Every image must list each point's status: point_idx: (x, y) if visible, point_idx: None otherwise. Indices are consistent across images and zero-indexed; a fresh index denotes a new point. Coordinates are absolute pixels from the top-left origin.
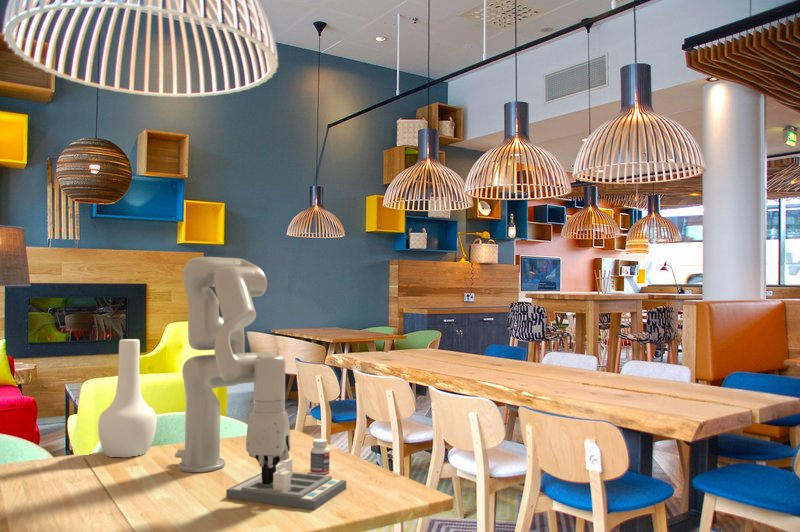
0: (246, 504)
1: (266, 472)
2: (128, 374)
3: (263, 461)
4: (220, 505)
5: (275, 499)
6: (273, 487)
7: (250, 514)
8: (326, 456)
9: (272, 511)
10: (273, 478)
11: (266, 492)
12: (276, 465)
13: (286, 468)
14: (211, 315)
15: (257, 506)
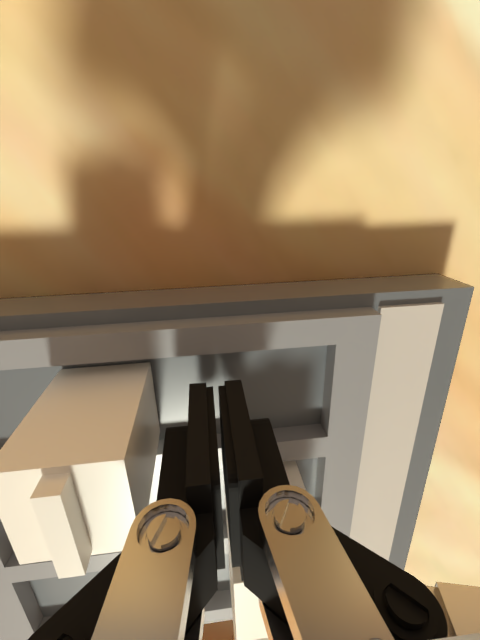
0: (270, 228)
1: (203, 446)
2: None
3: (272, 559)
4: (414, 143)
5: (91, 304)
6: (141, 379)
7: (118, 51)
8: None
9: (24, 178)
10: (130, 422)
11: (170, 323)
12: (252, 604)
13: (234, 617)
14: None
15: (183, 224)
